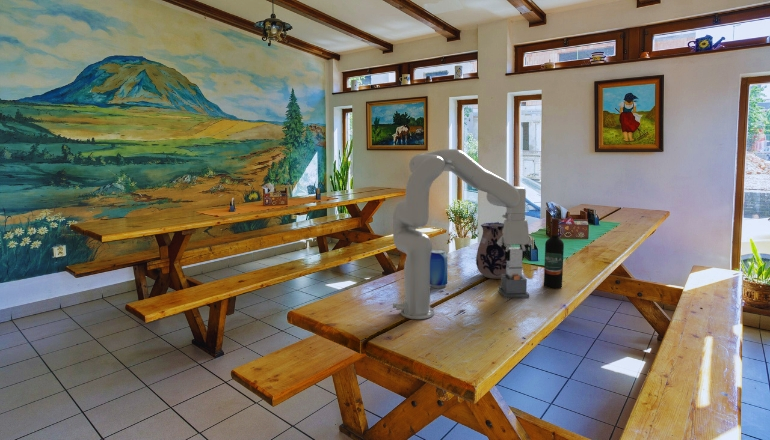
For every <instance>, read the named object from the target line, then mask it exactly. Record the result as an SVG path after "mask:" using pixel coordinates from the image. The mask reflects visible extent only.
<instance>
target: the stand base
mask: <svg viewBox="0 0 770 440" xmlns="http://www.w3.org/2000/svg"><path fill="white" fill-rule="evenodd" d="M500 282H501V283H500V285H501V286H498V292H499V293H500V294H501V296H502V297H503V299H528V298H530V294H529V293H528V291H527V288H528V286H527V283H528V279H527V278H526V276H524V275H523V274H522V279H520V276H519V275H515V276H513V279H508V278H507V277H506V274H502V275H501V281H500Z"/></svg>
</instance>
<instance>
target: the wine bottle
mask: <svg viewBox="0 0 770 440" xmlns="http://www.w3.org/2000/svg"><path fill="white" fill-rule="evenodd" d="M559 225H560V219H559V218H558V217H557V218H556V217H555V218H552V219H551V234H550V235H551V236H550V237H549V238H548V239H547V240H546V241H545V245H544V247H545V248H544V268H543V269H544V271H543V272H544V273H543V286H544V288H547V289H553V290H554V289H555V290H557V289H561V287H562V288H563V272H564V271H563V270H564V252H565V251H564V249H565V246H564V245H565V243H564V241H563V240H562V239H561V238H560V237H559Z"/></svg>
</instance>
